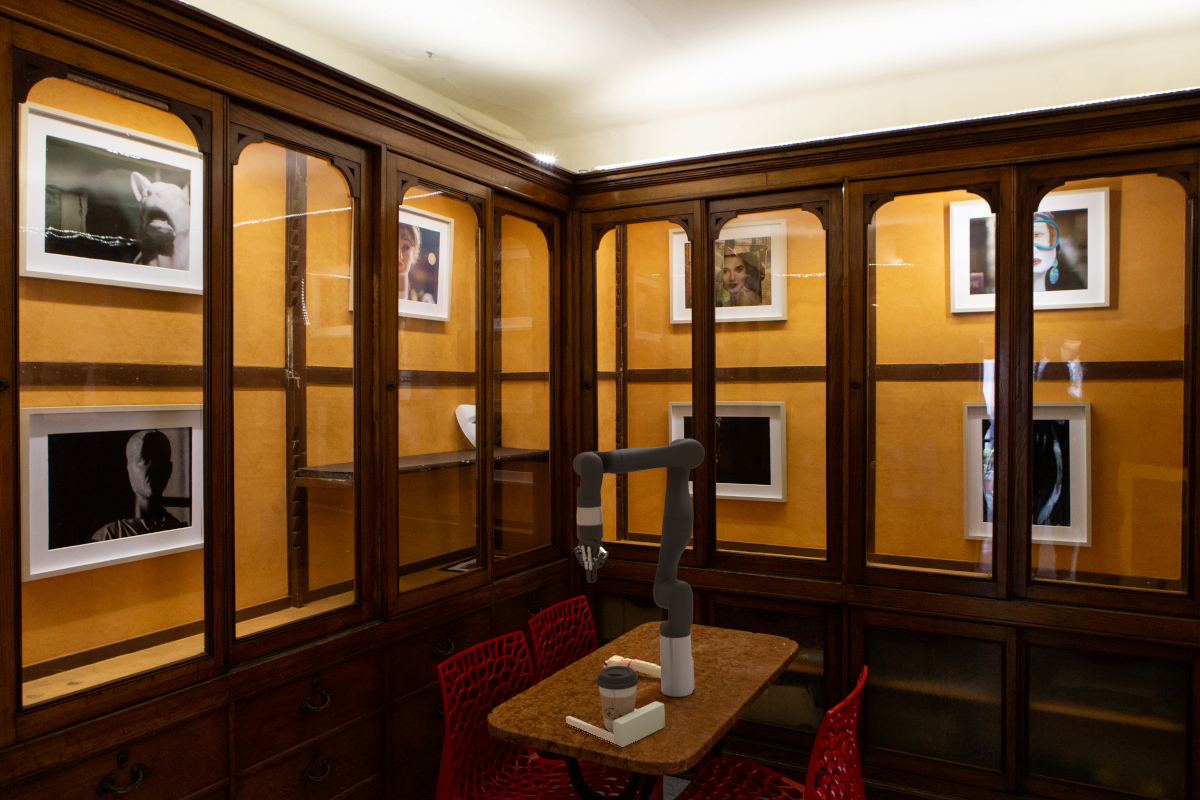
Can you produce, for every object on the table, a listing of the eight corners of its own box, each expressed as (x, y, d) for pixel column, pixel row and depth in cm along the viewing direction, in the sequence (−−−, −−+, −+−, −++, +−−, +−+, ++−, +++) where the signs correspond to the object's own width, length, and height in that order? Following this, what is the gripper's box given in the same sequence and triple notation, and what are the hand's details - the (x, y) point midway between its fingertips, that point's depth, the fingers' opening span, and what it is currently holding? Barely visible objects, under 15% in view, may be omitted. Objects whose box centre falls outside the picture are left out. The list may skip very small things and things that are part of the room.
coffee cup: (591, 735, 197) (590, 677, 197) (605, 717, 208) (603, 662, 208) (634, 739, 193) (632, 681, 193) (645, 721, 204) (643, 666, 204)
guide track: (608, 705, 215) (608, 684, 216) (665, 726, 201) (664, 704, 201) (566, 724, 204) (565, 702, 204) (622, 748, 189) (621, 724, 189)
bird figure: (682, 681, 236) (611, 663, 249) (683, 653, 236) (612, 637, 248) (669, 692, 228) (597, 673, 240) (670, 663, 227) (598, 646, 239)
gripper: (615, 522, 216) (617, 583, 216) (583, 518, 225) (585, 576, 225) (596, 525, 210) (598, 588, 210) (564, 521, 220) (566, 581, 220)
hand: (591, 582), depth 218 cm, fingers closed
